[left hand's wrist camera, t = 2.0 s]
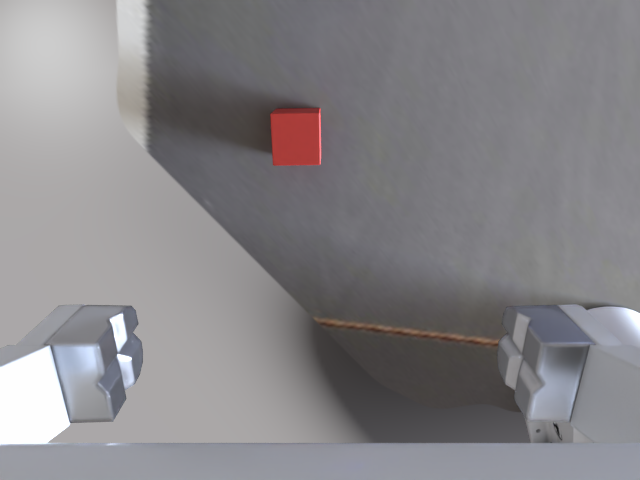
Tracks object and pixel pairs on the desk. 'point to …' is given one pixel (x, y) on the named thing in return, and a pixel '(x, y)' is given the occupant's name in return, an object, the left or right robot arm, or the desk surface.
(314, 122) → the brick
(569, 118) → the desk surface
